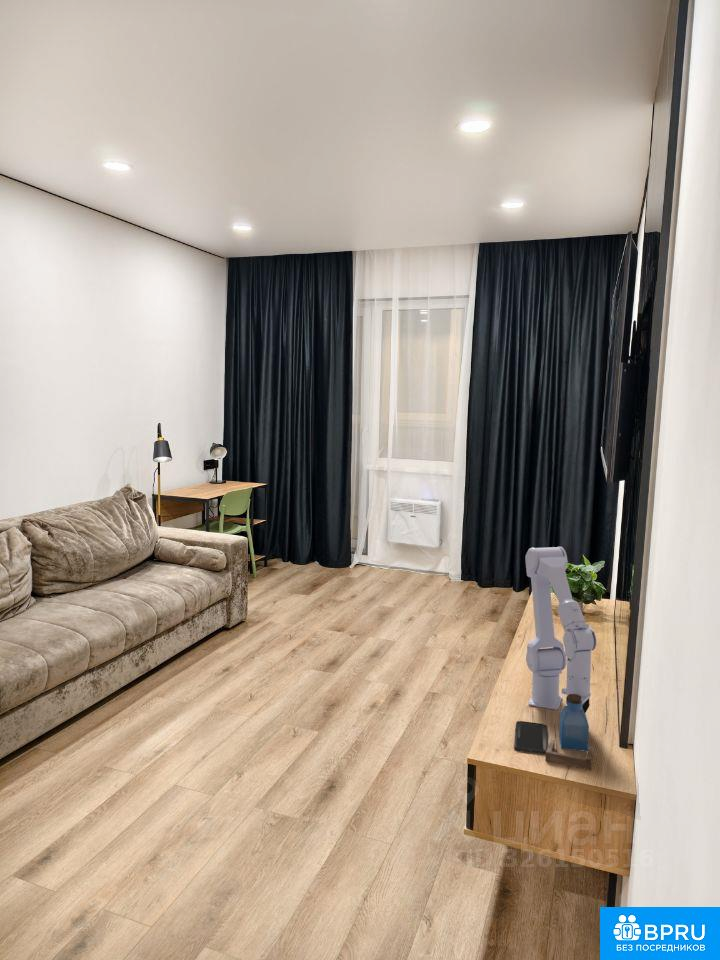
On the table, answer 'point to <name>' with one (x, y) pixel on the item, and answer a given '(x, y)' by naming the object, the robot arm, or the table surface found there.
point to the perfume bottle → (573, 725)
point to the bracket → (568, 757)
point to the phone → (530, 737)
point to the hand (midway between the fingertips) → (577, 726)
